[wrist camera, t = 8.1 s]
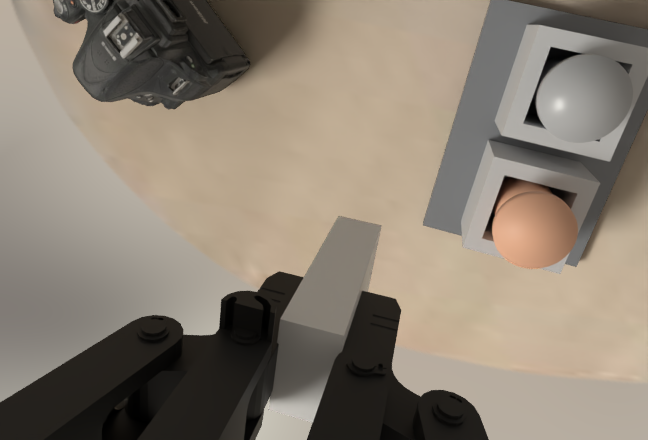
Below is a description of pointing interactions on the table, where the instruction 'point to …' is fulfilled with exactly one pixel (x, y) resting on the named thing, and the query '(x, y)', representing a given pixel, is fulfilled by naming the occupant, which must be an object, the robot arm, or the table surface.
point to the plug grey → (582, 97)
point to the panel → (532, 124)
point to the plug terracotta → (532, 224)
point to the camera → (152, 50)
